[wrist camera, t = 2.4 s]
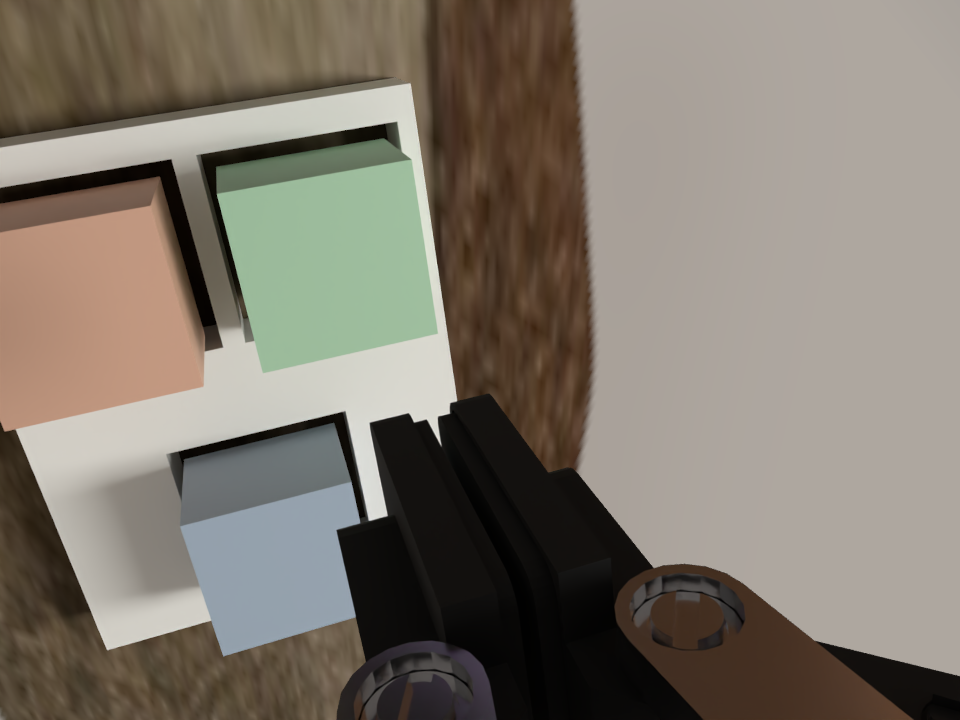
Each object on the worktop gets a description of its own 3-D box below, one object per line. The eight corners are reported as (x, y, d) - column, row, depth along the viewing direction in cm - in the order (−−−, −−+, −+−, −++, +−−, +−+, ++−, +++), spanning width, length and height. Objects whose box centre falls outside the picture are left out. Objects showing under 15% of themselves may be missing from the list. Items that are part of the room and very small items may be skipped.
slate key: (184, 459, 24) (179, 526, 21) (334, 422, 25) (351, 481, 22) (222, 578, 26) (223, 655, 23) (360, 540, 27) (379, 609, 23)
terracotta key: (-29, 208, 20) (-74, 245, 17) (159, 176, 21) (150, 206, 18) (34, 371, 22) (4, 431, 19) (204, 334, 23) (203, 386, 19)
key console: (-69, 149, 21) (-95, 162, 19) (395, 77, 23) (410, 83, 21) (114, 608, 27) (107, 650, 25) (462, 512, 30) (477, 544, 28)
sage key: (216, 166, 21) (217, 194, 18) (383, 138, 22) (411, 159, 19) (256, 324, 23) (262, 373, 20) (409, 291, 24) (438, 333, 21)
